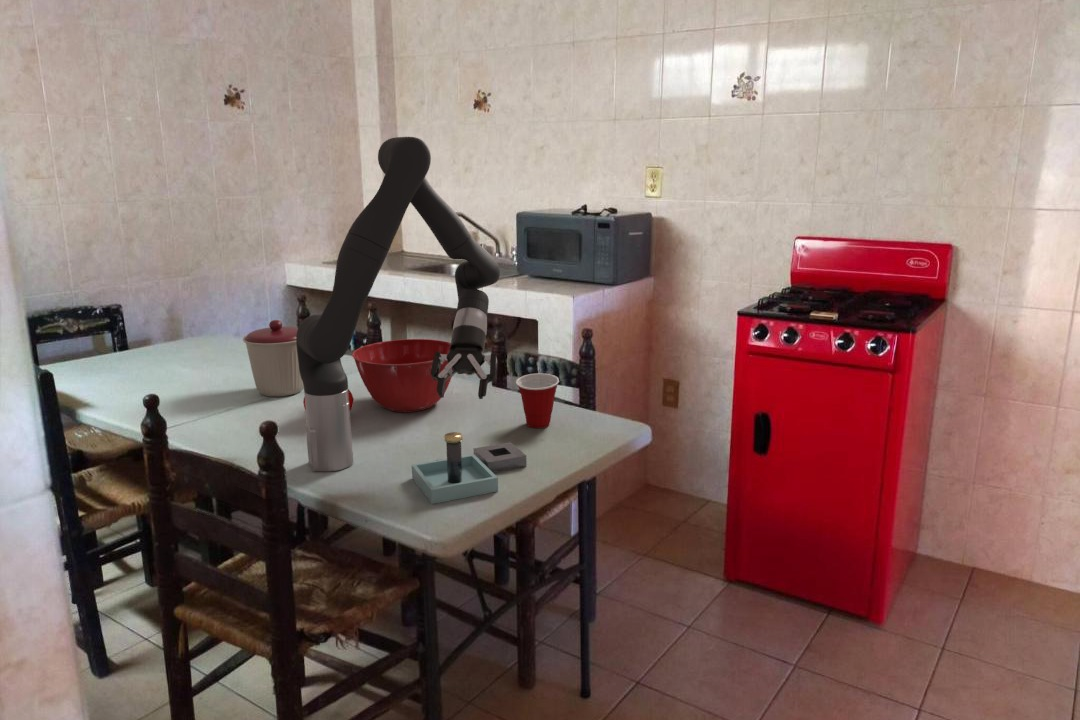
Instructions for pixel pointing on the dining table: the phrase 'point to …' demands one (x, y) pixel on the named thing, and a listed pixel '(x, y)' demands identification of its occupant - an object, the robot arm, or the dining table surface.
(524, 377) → the plastic cup
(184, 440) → the dining table surface
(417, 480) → the tray
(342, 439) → the robot arm
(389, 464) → the dining table surface
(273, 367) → the canister
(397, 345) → the mixing bowl
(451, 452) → the pin
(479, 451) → the grey square socket base
